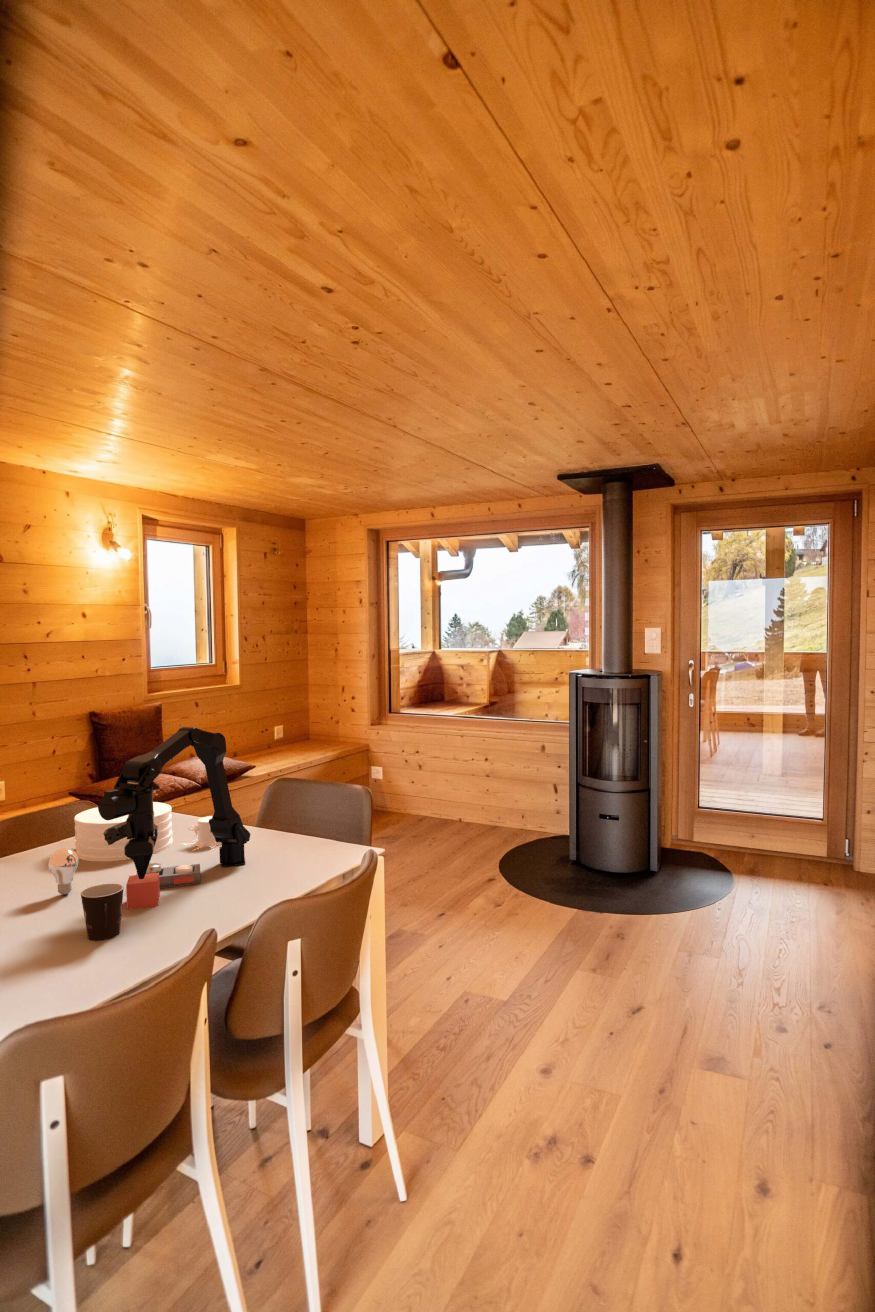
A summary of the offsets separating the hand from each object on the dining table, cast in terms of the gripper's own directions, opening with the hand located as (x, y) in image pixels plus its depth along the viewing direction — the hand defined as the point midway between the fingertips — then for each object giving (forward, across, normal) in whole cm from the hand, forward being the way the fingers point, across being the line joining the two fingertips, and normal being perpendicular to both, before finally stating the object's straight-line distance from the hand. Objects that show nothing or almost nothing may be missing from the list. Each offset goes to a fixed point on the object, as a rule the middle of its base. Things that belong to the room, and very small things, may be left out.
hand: (143, 873), depth 181 cm
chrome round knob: (+4, -13, +1) cm, 14 cm away
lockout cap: (+7, 0, 0) cm, 7 cm away
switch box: (+7, -13, +5) cm, 16 cm away
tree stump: (+8, -49, +16) cm, 52 cm away
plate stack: (+8, -54, -10) cm, 55 cm away
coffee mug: (+7, +20, -7) cm, 23 cm away
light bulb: (+8, -13, -20) cm, 25 cm away
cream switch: (+6, -13, +9) cm, 17 cm away
